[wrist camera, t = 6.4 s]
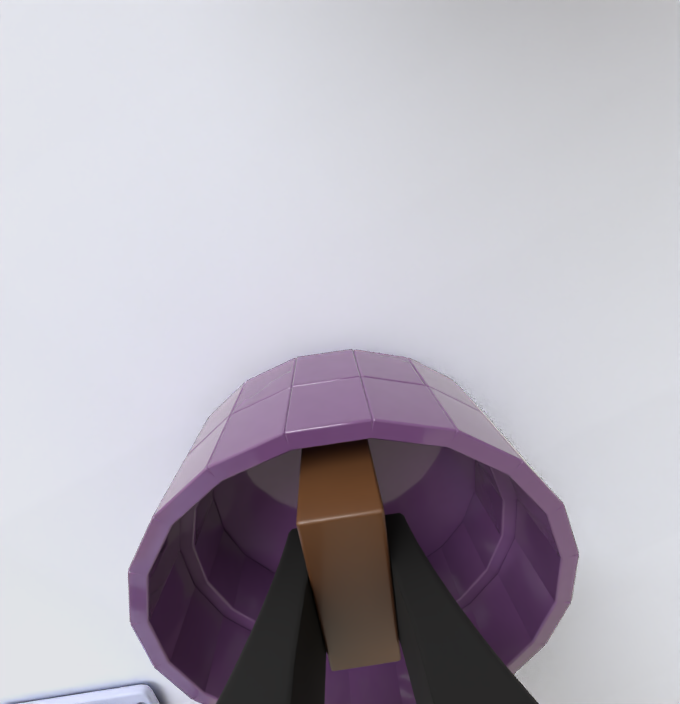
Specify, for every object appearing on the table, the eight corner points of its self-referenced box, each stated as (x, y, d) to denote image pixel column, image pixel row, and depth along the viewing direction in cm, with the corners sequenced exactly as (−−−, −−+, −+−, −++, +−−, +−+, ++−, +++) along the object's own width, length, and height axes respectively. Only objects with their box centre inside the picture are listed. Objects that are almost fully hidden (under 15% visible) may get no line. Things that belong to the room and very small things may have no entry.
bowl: (487, 564, 16) (556, 702, 12) (235, 602, 16) (201, 758, 11) (494, 321, 12) (607, 384, 7) (152, 371, 12) (43, 467, 7)
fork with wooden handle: (284, 434, 10) (270, 528, 7) (382, 420, 10) (410, 506, 7) (329, 634, 13) (333, 757, 10) (403, 622, 13) (428, 742, 10)
